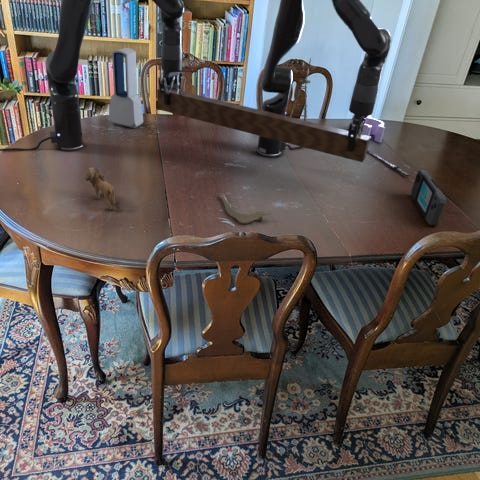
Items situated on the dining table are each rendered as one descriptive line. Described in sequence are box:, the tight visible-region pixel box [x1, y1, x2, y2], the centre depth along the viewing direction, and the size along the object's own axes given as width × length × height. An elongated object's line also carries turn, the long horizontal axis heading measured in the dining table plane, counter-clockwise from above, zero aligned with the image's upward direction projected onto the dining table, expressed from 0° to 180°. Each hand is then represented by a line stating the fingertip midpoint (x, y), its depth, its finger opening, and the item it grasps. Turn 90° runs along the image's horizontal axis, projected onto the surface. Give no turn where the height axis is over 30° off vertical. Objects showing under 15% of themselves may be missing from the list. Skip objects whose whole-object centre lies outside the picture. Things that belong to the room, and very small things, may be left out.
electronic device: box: [108, 47, 144, 129], centre depth 190 cm, size 12×8×30 cm, turn 71°
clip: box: [351, 113, 386, 143], centre depth 214 cm, size 20×12×7 cm, turn 11°
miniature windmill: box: [289, 57, 312, 121], centre depth 210 cm, size 9×8×30 cm
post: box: [156, 88, 372, 163], centre depth 167 cm, size 81×5×8 cm, turn 64°
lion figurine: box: [82, 167, 121, 211], centre depth 139 cm, size 15×5×9 cm, turn 50°
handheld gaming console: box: [410, 169, 447, 227], centre depth 153 cm, size 23×3×10 cm, turn 178°
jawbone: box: [218, 193, 271, 225], centre depth 143 cm, size 9×20×2 cm, turn 50°
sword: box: [367, 149, 410, 177], centre depth 189 cm, size 31×3×1 cm, turn 26°
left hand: (171, 102), depth 179 cm, fingers closed on post, 4 cm apart
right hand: (351, 148), depth 156 cm, fingers closed on post, 5 cm apart
